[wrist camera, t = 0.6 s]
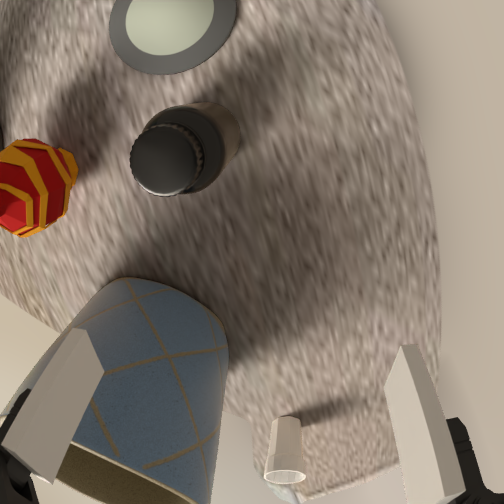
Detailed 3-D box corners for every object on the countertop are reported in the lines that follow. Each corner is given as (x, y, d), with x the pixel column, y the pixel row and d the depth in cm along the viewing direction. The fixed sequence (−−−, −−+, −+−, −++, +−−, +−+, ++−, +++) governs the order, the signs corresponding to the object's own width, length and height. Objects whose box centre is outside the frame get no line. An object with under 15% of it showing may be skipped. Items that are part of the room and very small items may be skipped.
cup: (260, 420, 50) (255, 474, 41) (292, 409, 48) (291, 466, 38) (281, 435, 52) (278, 486, 43) (312, 425, 50) (313, 478, 40)
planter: (209, 403, 49) (181, 530, 28) (84, 351, 47) (22, 462, 26) (265, 310, 38) (245, 499, 18) (94, 238, 36) (-29, 374, 15)
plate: (91, 47, 25) (88, 47, 25) (155, -51, 20) (153, -53, 19) (189, 97, 28) (187, 97, 27) (263, -9, 22) (262, -12, 21)
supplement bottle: (193, 89, 27) (143, 89, 17) (254, 124, 29) (238, 142, 18) (161, 148, 30) (102, 180, 20) (218, 181, 32) (185, 230, 21)
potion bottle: (93, 124, 29) (-7, 156, 16) (98, 212, 34) (18, 280, 21) (28, 130, 30) (-64, 164, 17) (36, 207, 35) (-42, 263, 21)
